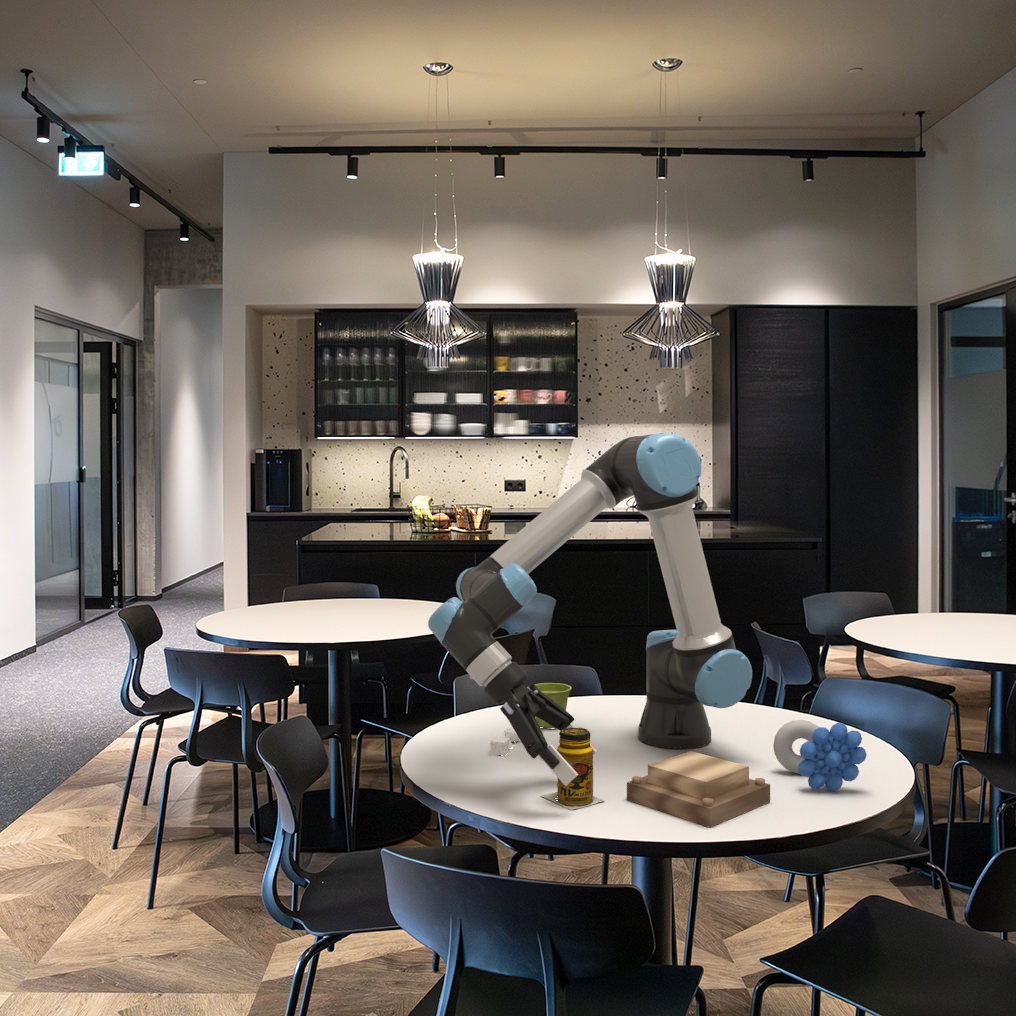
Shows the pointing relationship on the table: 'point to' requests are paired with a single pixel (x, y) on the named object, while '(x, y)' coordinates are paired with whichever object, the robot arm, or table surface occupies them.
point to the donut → (786, 739)
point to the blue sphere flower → (831, 757)
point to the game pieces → (503, 743)
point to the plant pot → (554, 697)
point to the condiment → (581, 760)
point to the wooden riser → (699, 788)
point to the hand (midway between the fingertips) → (582, 768)
